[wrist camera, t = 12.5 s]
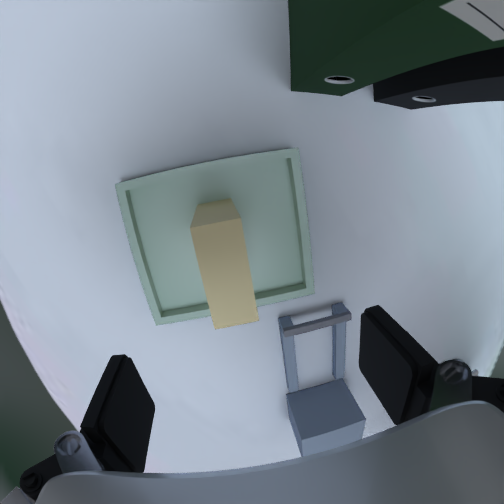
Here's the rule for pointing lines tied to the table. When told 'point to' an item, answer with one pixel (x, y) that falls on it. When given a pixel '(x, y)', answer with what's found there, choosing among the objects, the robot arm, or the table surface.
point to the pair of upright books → (399, 49)
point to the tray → (253, 222)
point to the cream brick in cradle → (224, 263)
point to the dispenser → (321, 391)
